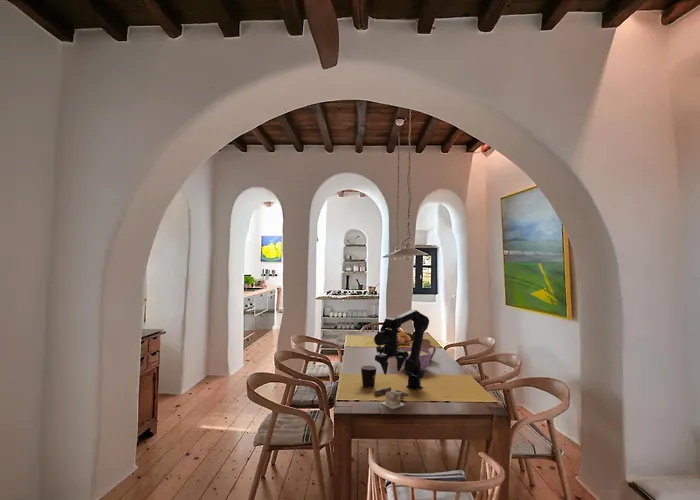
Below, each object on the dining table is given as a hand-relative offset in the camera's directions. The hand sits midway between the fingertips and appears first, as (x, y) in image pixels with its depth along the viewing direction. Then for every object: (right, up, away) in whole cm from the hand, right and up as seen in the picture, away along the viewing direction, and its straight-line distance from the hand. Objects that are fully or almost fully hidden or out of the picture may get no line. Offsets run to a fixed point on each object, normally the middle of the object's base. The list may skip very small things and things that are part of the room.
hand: (391, 372), depth 201 cm
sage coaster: (-1, -11, -13) cm, 18 cm away
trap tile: (+4, -12, +2) cm, 13 cm away
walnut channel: (-2, -12, -2) cm, 12 cm away
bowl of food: (+20, -13, +47) cm, 53 cm away
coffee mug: (-10, -12, +15) cm, 22 cm away
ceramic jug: (+29, -14, +71) cm, 78 cm away
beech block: (-1, -11, -13) cm, 17 cm away
